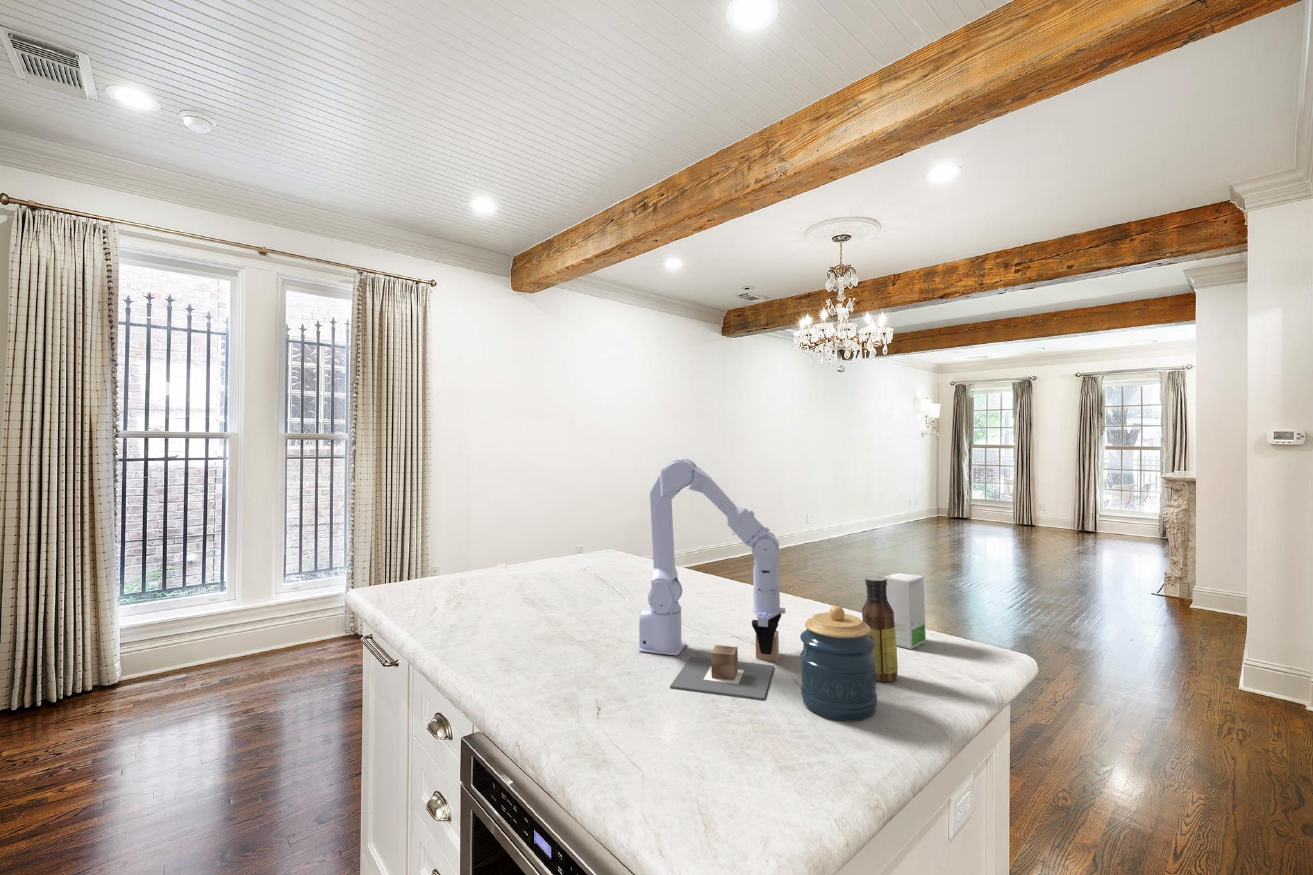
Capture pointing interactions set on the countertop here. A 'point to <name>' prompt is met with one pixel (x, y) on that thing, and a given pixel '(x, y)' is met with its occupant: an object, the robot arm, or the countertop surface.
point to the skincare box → (907, 608)
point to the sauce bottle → (881, 628)
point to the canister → (838, 666)
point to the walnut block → (724, 662)
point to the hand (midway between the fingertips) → (767, 649)
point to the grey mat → (746, 683)
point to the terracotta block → (774, 651)
